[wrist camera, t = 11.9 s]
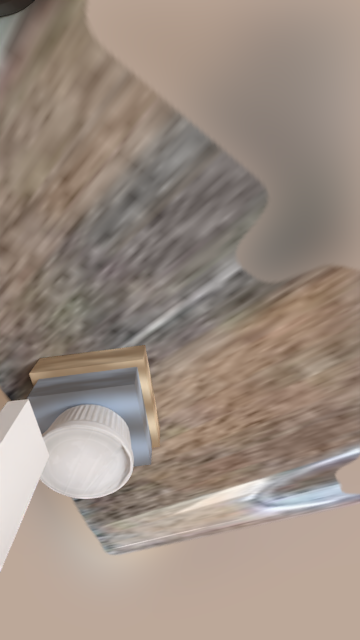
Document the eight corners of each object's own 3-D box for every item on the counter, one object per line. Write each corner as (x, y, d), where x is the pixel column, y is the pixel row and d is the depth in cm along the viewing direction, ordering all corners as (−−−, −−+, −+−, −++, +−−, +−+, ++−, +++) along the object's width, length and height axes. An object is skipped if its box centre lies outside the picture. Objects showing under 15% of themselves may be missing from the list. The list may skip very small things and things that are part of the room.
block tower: (39, 358, 45) (15, 391, 38) (145, 345, 45) (141, 376, 38) (66, 439, 51) (50, 482, 44) (159, 427, 51) (159, 468, 44)
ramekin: (137, 464, 43) (133, 499, 38) (52, 465, 42) (38, 501, 38) (136, 395, 39) (132, 425, 34) (42, 395, 38) (24, 425, 33)
